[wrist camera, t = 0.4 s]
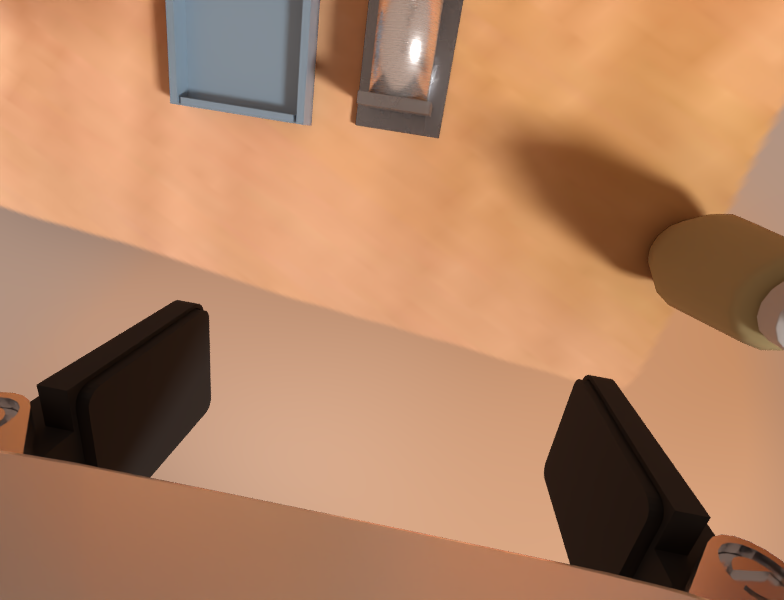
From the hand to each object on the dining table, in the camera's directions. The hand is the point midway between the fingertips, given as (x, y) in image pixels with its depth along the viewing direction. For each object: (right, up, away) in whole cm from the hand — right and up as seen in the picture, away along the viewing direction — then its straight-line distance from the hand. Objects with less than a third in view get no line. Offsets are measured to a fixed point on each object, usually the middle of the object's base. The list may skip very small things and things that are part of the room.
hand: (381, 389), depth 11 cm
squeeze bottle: (+25, +6, +26) cm, 37 cm away
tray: (-11, +23, +23) cm, 35 cm away
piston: (+2, +22, +22) cm, 31 cm away
